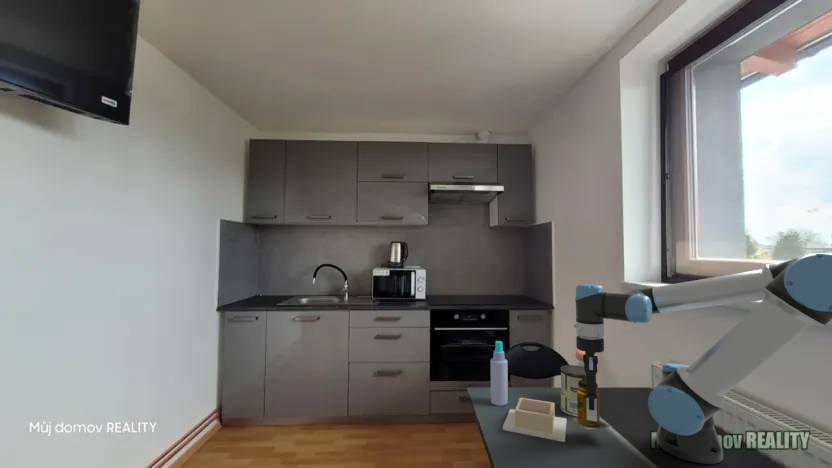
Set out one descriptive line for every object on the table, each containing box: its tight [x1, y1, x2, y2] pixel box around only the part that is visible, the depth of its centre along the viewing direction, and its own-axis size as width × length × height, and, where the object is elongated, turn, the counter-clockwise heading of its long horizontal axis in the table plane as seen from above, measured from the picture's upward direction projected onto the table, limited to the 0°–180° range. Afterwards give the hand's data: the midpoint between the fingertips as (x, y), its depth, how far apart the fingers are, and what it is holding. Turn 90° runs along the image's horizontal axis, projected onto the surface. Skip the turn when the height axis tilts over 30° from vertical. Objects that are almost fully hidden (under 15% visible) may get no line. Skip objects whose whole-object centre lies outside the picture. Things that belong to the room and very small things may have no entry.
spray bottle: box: [490, 340, 509, 407], centre depth 137 cm, size 6×6×22 cm
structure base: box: [502, 397, 567, 443], centre depth 119 cm, size 18×14×6 cm
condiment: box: [571, 380, 613, 430], centre depth 112 cm, size 7×8×12 cm
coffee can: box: [560, 364, 586, 418], centre depth 131 cm, size 10×10×14 cm
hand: (591, 415), depth 111 cm, fingers closed on condiment, 6 cm apart
